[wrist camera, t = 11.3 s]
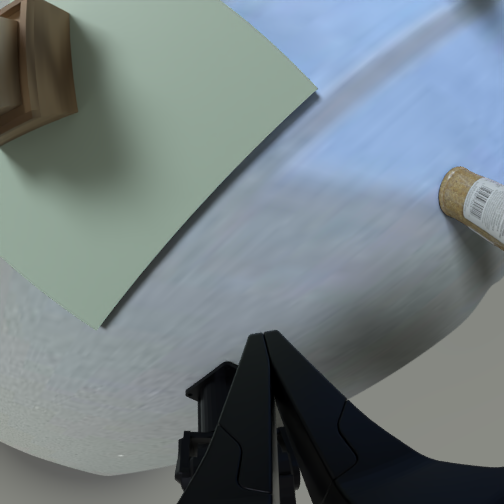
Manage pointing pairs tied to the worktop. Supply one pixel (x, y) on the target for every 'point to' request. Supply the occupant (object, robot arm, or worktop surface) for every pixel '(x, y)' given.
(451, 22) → the worktop surface
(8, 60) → the ash block
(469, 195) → the sprinkles bottle
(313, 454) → the robot arm
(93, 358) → the worktop surface
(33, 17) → the walnut socket block
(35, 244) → the board
